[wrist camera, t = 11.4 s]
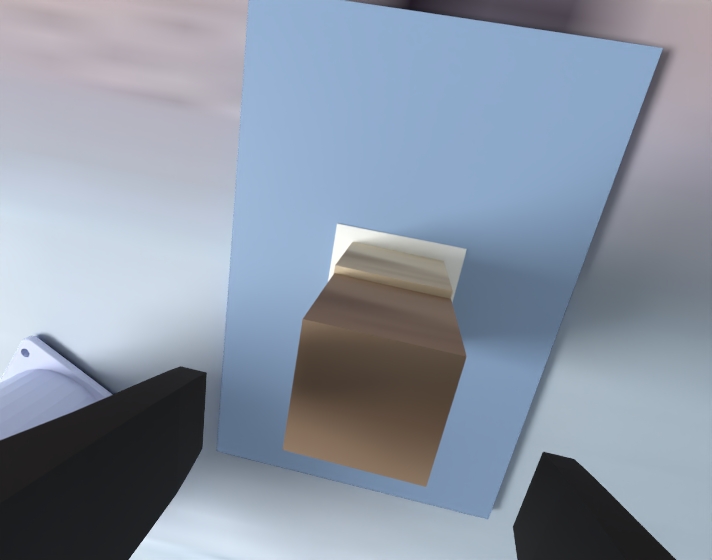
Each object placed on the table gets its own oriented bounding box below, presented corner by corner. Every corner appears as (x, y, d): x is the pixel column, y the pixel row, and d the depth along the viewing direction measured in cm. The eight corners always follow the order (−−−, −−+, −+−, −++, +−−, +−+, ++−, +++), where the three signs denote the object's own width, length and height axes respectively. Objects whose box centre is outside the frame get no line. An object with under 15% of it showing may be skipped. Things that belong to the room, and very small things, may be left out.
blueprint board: (486, 509, 21) (488, 521, 20) (221, 443, 22) (215, 452, 22) (653, 52, 14) (664, 47, 13) (255, -8, 15) (248, -15, 15)
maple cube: (421, 343, 18) (423, 392, 14) (337, 324, 18) (317, 367, 14) (443, 261, 17) (453, 290, 13) (352, 241, 17) (335, 265, 13)
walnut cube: (422, 399, 14) (426, 487, 10) (316, 373, 14) (282, 449, 11) (450, 298, 13) (466, 356, 9) (334, 273, 13) (302, 318, 9)
